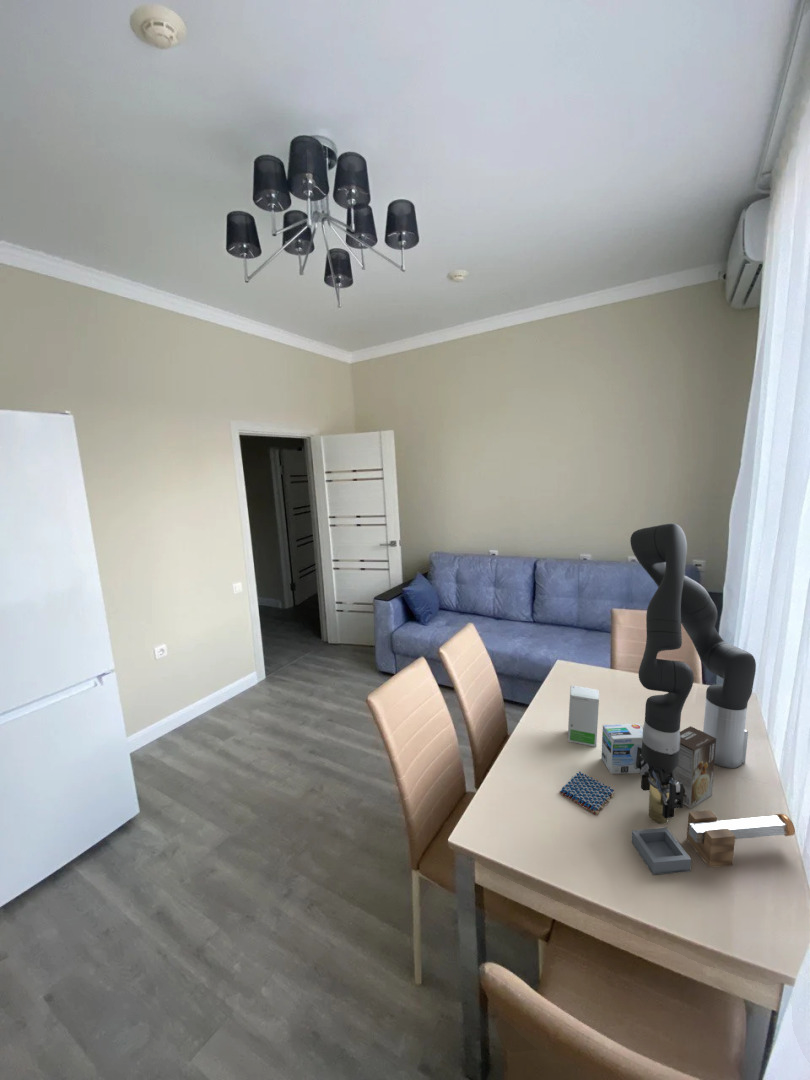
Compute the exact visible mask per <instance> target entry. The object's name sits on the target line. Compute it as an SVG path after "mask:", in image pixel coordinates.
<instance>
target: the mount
mask: <svg viewBox="0 0 810 1080" xmlns="http://www.w3.org/2000/svg"><path fill="white" fill-rule="evenodd" d="M687 813H688V814H687V815H688V816H687V817H688V818H687V828H686V829H687V830H686V840H687V842H688V843H689V844H690V845H691V846H692V848H693V849H694V850H695V851H696V852H697V854H698V855H699V856H700V858H701V859H702V860H703V861H704V862H705V863H706V865H707V866H708V868H714V867H716V868H717V867H724V866H733V863H734V854H735V853H734V852H735V844H736V839H735V835H734V834H733V833H732V832H731V831H730V830H729V829H728V828H726V829H715V830H705V836H704V842H700V843H696V842H695V840H694V839H693V838H692V837H691V836H690V834H689V824H690V823H701V822H712V821H718V816H717V815H716V814H715V813H714V812H713V811H712V810H711V809H705V810H694V811H692V810H691V811H688V812H687Z"/></svg>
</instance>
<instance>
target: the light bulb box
mask: <svg viewBox="0 0 810 1080" xmlns="http://www.w3.org/2000/svg"><path fill="white" fill-rule="evenodd" d="M601 733H602V735H601V738H602V739H601V755H600V756H601V760H602V762H603V763H604V765H605V766H606V768H607V769H608V771H609V773H610V774H611V775H616V774H622V775H623V774H640V769H639V768H637V767H636V758H637V748H638V747H642V736H643V727H642V726H641V724H640V723H639V722H638V723H637V722H636V723H619V724H603V725H602V732H601ZM643 762H644V761H641V763H643Z"/></svg>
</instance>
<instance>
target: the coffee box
mask: <svg viewBox="0 0 810 1080" xmlns="http://www.w3.org/2000/svg"><path fill="white" fill-rule="evenodd" d="M715 749H716V738H715V737H712V736H710V735H708V734H706V733H704V732H703V730H700V729H697V728H695V727H693V726H691V725H690V726H688V727H686V728H683V730H680V750H679V763H678V766H677V767H676V768H675V769H674V770H673V775H674V779H675V780H676V781H677V782H682V784H683V786H684V789H683V805H685V806H686V807H688V808H689V809H693V808H694V807H695V806H698V805H699V804H700V803H702V802H703V801H705V800H706V799H708V798H709V797H711V796H712V795H713V787H714V775H715V772H714V771H715V764H714V762H715Z"/></svg>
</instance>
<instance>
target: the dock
mask: <svg viewBox="0 0 810 1080" xmlns="http://www.w3.org/2000/svg"><path fill="white" fill-rule="evenodd" d="M630 839H631V840H630V842H631V844H632V845H633V847H634V848H635V850H636V851H637V853H638V854H639V856H640V858H641V859H642V860H643V862H644V864H645V866H646V867H647V868H648V870H649V871H650V873H651V874H652V876H656V875H657V876H658V875H667V874H668V875H669V874H679V873H686V872H687V873H688V872H691V867H692V858H691V856H690V855H689V854H688V853H687V852H686V851H685V849H684V847H682V845H681V844H680V843H679V842H678V840H677V838H676V837H675V836H674V835H673V834H672V832H671V831H670V830H669V829H668V827H666V826H665V827H655V828H645V829H644V828H643V829H635V830H633V829H632V830H631V837H630Z"/></svg>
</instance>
